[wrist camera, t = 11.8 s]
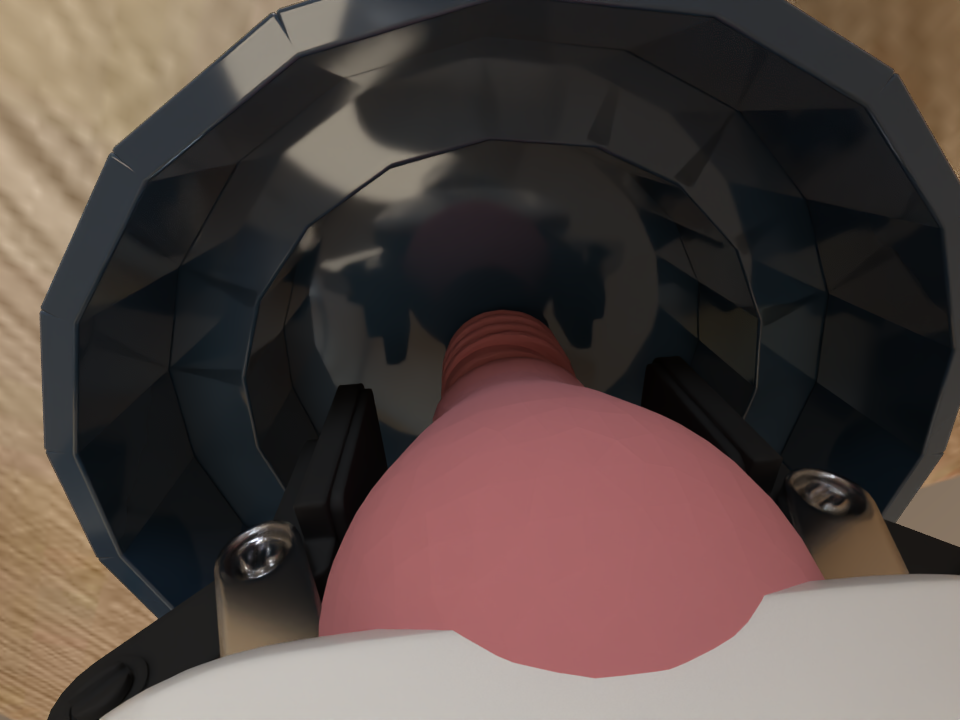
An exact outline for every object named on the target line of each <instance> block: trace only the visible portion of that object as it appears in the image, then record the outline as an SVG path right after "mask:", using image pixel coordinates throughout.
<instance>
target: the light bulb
mask: <svg viewBox="0 0 960 720" xmlns="http://www.w3.org/2000/svg"><path fill="white" fill-rule="evenodd" d="M816 580H825V578H824V577H823V575H822V573H821V571H820V570H819V568H818V566H817V564H816V563H815V561H814V559H813V557H812V556H811V554H810V552H809V550H808V549H807V547H806V545H805V544H804V542H803V540H802V538H801V537H800V536H799V534H798V533H797V532H796V530H795V529H794V528H793V526H792V525H791V524H790V522H789V521H788V519H787V518H786V517H785V515H784V514H783V513H782V511H781V510H780V509H779V507H778V506H777V505H776V504H775V502H774V501H773V500H772V499H771V498H770V497H769V496H768V495H767V494H766V493H765V492H764V491H763V490H762V489H761V488H760V487H759V486H758V485H757V484H756V483H755V482H754V481H753V480H752V479H751V478H750V477H749V476H748V475H747V474H746V473H745V472H744V471H743V470H742V469H741V468H740V467H739V466H738V465H737V464H736V463H735V462H734V461H733V460H731V459H730V458H729V457H728V456H726V455H725V454H724V453H722V452H721V451H720V450H719V449H717V448H716V447H715V446H714V445H712V444H711V443H710V442H708V441H707V440H705V439H704V438H702V437H700V436H699V435H697V434H695V433H694V432H692V431H691V430H689V429H687V428H686V427H684V426H683V425H681V424H679V423H677V422H675V421H673V420H671V419H669V418H667V417H664V416H662V415H660V414H658V413H655V412H653V411H650V410H648V409H646V408H643V407H640V406H638V405H635V404H632V403H630V402H627V401H624V400H621V399H619V398H616V397H613V396H611V395H608V394H605V393H602V392H600V391H597V390H593V389H590V388H585V387H584V386H583V385H582V384H581V382H580V381H579V380H578V379H577V378H576V376H575V373H574V370H573V368H572V366H571V363H570V360H569V359H568V357H567V355H566V354H565V352H564V351H563V349H562V347H561V346H560V344H559V343H558V341H557V340H556V338H555V336H554V335H553V333H552V331H551V330H550V329H549V328H548V327H547V326H546V325H544V324H543V323H542V322H541V321H540V320H538V319H536V318H534V317H533V316H531V315H528V314H526V313H523V312H519V311H511V310H496V311H490V312H485V313H482V314H479V315H477V316H475V317H473V318H471V319H470V320H468V321H467V322H465V323H464V324H463V325H462V326H461V327H460V328H459V329H458V330H457V331H456V333H455V334H454V335H453V337H452V338H451V340H450V343H449V345H448V348H447V350H446V353H445V356H444V360H443V369H442V389H441V400H440V402H439V403H438V405H437V408H436V411H435V414H434V417H433V423H432V424H431V425H430V426H428V427H427V428H426V429H425V430H424V431H423V432H422V433H421V434H420V435H419V436H418V437H417V438H416V439H415V440H414V441H413V442H412V443H411V445H410V446H409V447H408V448H407V449H406V450H405V451H404V452H403V453H402V454H401V456H400V457H399V458H398V459H397V460H396V461H395V462H394V463H393V464H392V466H391V467H390V468H389V469H388V470H387V471H386V472H385V473H384V475H383V476H382V477H381V478H380V480H379V481H378V482H377V483H376V484H375V486H374V487H373V488H372V490H371V491H370V493H369V494H368V496H367V497H366V499H365V500H364V502H363V503H362V505H361V506H360V508H359V509H358V511H357V512H356V514H355V516H354V518H353V520H352V522H351V524H350V526H349V528H348V530H347V532H346V534H345V536H344V538H343V541H342V543H341V545H340V548H339V550H338V552H337V554H336V557H335V559H334V561H333V564H332V567H331V570H330V573H329V576H328V580H327V584H326V588H325V592H324V596H323V601H322V609H321V615H320V620H319V636H318V637H321V636H328V635H336V634H343V633H351V632H358V631H366V630H373V629H413V630H453V631H455V632H456V633H458V634H460V635H461V636H463V637H465V638H466V639H468V640H470V641H472V642H473V643H475V644H477V645H479V646H480V647H482V648H484V649H486V650H487V651H489V652H491V653H493V654H494V655H496V656H499V657H501V658H503V659H506V660H508V661H511V662H513V663H517V664H521V665H526V666H530V667H535V668H539V669H544V670H548V671H553V672H557V673H564V674H570V675H577V676H583V677H589V678H604V677H615V676H625V675H633V674H641V673H649V672H657V671H663V670H669V669H672V668H674V667H677V666H679V665H682V664H684V663H687V662H689V661H691V660H693V659H695V658H697V657H699V656H701V655H703V654H705V653H707V652H709V651H710V650H712V649H714V648H716V647H718V646H719V645H721V644H723V643H724V642H726V641H727V640H729V639H731V638H732V637H734V636H735V635H736V634H737V633H738V632H739V631H740V630H741V629H742V628H743V627H744V626H745V625H746V624H747V623H748V621H749V620H750V618H751V617H752V615H753V614H754V612H755V611H756V609H757V607H758V606H759V604H760V603H761V601H762V599H763V597H764V595H767V594H771V593H774V592H777V591H780V590H783V589H787V588H790V587H792V586H796V585H799V584H802V583H805V582H808V581H816Z"/></svg>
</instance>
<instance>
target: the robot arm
mask: <svg viewBox="0 0 960 720" xmlns="http://www.w3.org/2000/svg"><path fill="white" fill-rule="evenodd" d="M641 407H643V408H646V409H648V410H650V411H653V412H655V413H658V414H660V415H662V416H664V417H667V418H669V419H671V420H673V421H675V422H677V423H679V424H681V425H683V426H684V427H686V428H687V429H689V430H691V431H692V432H694V433H695V434H697V435H699V436H700V437H702V438H704V439H705V440H707V441H708V442H710V443H711V444H712V445H714V446H715V447H716V448H717V449H719V450H720V451H721V452H722V453H724V454H725V455H726V456H728V457H729V458H730V459H731V460H733V461H734V462H735V463H736V464H737V465H738V466H739V467H740V468H741V469H742V470H743V471H744V472H745V473H746V474H747V475H748V476H749V477H750V478H751V479H752V480H753V481H754V482H755V483H756V484H757V485H758V486H759V487H760V488H761V489H762V490H763V491H764V492H765V493H766V494H767V495H768V496H769V497H770V498H771V499H772V500H773V501H774V502H775V504H776V505H777V506H778V507H779V509H780V510H781V511H782V513H783V514H784V515H785V517H786V518H787V519H788V521H789V522H790V524H791V525H792V526H793V528H794V529H795V530H796V532H797V533H798V534H799V536H800V537H801V538H802V540H803V542H804V544H805V545H806V547H807V549H808V550H809V552H810V554H811V556H812V557H813V559H814V561H815V563H816V564H817V566H818V568H819V570H820V571H821V573H822V575H823V577H824V578H825V580H816V581H808V582H805V583H802V584H799V585H796V586H792V587H790V588H787V589H783V590H780V591H777V592H774V593H771V594H767V595H764V597H763V599H762V601H761V603H760V604H759V606H758V607H757V609H756V611H755V612H754V614H753V615H752V617H751V618H750V620H749V621H748V623H747V624H746V625H745V626H744V627H743V628H742V629H741V630H740V631H739V632H738V633H737V634H736V635H735V636H734V637H732V638H731V639H729V640H727V641H726V642H724V643H723V644H721V645H719V646H718V647H716V648H714V649H712V650H710V651H709V652H707V653H705V654H703V655H701V656H699V657H697V658H695V659H693V660H691V661H689V662H687V663H684V664H682V665H679V666H677V667H674V668H672V669H669V670H663V671H657V672H649V673H641V674H633V675H625V676H615V677H604V678H589V677H583V676H577V675H570V674H564V673H557V672H553V671H548V670H544V669H539V668H535V667H530V666H526V665H521V664H517V663H513V662H511V661H508V660H506V659H503V658H501V657H499V656H496V655H494V654H493V653H491V652H489V651H487V650H486V649H484V648H482V647H480V646H479V645H477V644H475V643H473V642H472V641H470V640H468V639H466V638H465V637H463V636H461V635H460V634H458V633H456V632H455V631H453V630H413V629H373V630H366V631H358V632H351V633H343V634H336V635H328V636H321V637H318V636H319V620H320V615H321V609H322V601H323V596H324V592H325V588H326V584H327V580H328V576H329V573H330V570H331V567H332V564H333V561H334V559H335V557H336V554H337V552H338V550H339V548H340V545H341V543H342V541H343V538H344V536H345V534H346V532H347V530H348V528H349V526H350V524H351V522H352V520H353V518H354V516H355V514H356V512H357V511H358V509H359V508H360V506H361V505H362V503H363V502H364V500H365V499H366V497H367V496H368V494H369V493H370V491H371V490H372V488H373V487H374V486H375V484H376V483H377V482H378V481H379V480H380V478H381V477H382V476H383V475H384V473H385V472H386V471H387V470H388V466H387V461H386V456H385V451H384V446H383V441H382V436H381V431H380V426H379V421H378V415H377V410H376V405H375V400H374V395H373V391H372V389H371V388H367V389H365V388H364V385H363V384H362V383H359V384H347V385H339V386H338V389H337V391H336V394H335V396H334V399H333V402H332V404H331V407H330V410H329V412H328V415H327V418H326V420H325V423H324V426H323V428H322V431H321V434H320V436H319V439H313V440H308V441H306V443H305V445H304V446H303V449H302V451H301V454H300V456H299V458H298V461H297V463H296V466H295V468H294V471H293V473H292V475H291V478H290V480H289V483H288V485H287V487H286V490H285V492H284V495H283V497H282V499H281V502H280V504H279V507H278V509H277V512H276V514H275V516H274V519H273V520H272V521H265V522H261V523H258V524H255V525H252V526H250V527H249V528H247V529H245V530H243V531H241V532H240V533H238V534H237V535H236V536H234V537H233V538H232V539H230V540H229V542H228V543H227V544H226V545H225V546H224V547H223V548H222V549H221V551H220V553H219V555H218V557H217V559H216V561H215V567H214V579H215V580H214V581H213V582H211V583H210V584H208V585H207V586H206V587H204V588H203V589H201V590H200V591H198V592H197V593H195V594H194V595H193V596H191V597H190V598H188V599H187V600H185V601H184V602H182V603H181V604H179V605H178V606H177V607H175V608H174V609H172V610H171V611H169V612H168V613H166V614H165V615H164V616H162V617H161V618H159V619H158V620H156V621H155V622H153V623H152V624H150V625H149V626H148V627H146V628H145V629H143V630H142V631H140V632H139V633H137V634H136V635H135V636H133V637H132V638H130V639H129V640H127V641H126V642H124V643H123V644H121V645H120V646H119V647H117V648H116V649H114V650H113V651H111V652H110V653H108V654H107V655H105V656H104V657H103V658H101V659H100V660H98V661H97V662H95V663H94V664H93V665H91V666H90V667H89V668H88V669H86V670H85V671H84V672H83V673H81V674H80V675H79V676H78V677H77V678H76V679H75V680H74V681H73V682H72V683H71V684H70V685H69V686H68V687H67V688H66V690H65V691H64V692H63V693H62V694H61V696H60V697H59V699H58V700H57V702H56V703H55V705H54V706H53V708H52V709H51V711H50V714H49V717H48V719H47V720H960V547H958V546H955V545H952V544H949V543H947V542H944V541H941V540H939V539H936V538H933V537H931V536H928V535H925V534H923V533H920V532H917V531H915V530H912V529H909V528H907V527H904V526H901V525H899V524H896V523H893V522H891V521H888V520H885V519H883V517H882V515H881V513H880V511H879V509H878V507H877V505H876V503H875V501H874V500H873V498H872V497H871V495H870V494H869V493H868V492H867V491H866V490H864V489H863V488H862V487H861V486H860V485H858V484H856V483H855V482H853V481H851V480H850V479H848V478H846V477H844V476H841V475H839V474H837V473H834V472H831V471H827V470H823V469H819V468H808V467H806V468H797V469H794V470H792V471H790V470H789V469H788V468H787V467H786V466H785V465H784V464H783V463H782V460H783V458H782V457H781V456H780V455H779V454H778V453H777V452H776V451H775V450H774V449H773V448H772V447H771V446H770V445H769V444H768V443H767V442H766V441H765V440H764V439H763V438H762V437H761V436H760V435H759V434H758V433H757V432H756V431H755V430H754V429H753V428H752V427H751V426H750V425H749V424H748V423H747V422H746V421H745V420H744V419H743V418H742V417H741V416H740V415H739V414H738V413H737V412H736V411H735V410H734V409H733V408H732V407H731V406H730V405H729V404H728V403H727V402H726V401H725V400H724V399H723V398H722V397H721V396H720V395H719V394H718V393H717V392H716V391H715V390H714V389H713V388H712V387H711V386H709V385H708V384H707V383H706V382H705V381H704V380H703V379H702V378H701V377H700V376H699V375H698V374H697V373H696V372H695V371H694V370H693V369H692V368H691V367H690V366H689V365H688V364H687V363H686V362H685V361H684V360H683V359H682V358H681V357H680V356H670V357H659V358H655V359H654V360H653V362H652V364H648V365H647V367H646V371H645V378H644V385H643V393H642V400H641Z"/></svg>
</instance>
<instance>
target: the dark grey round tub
mask: <svg viewBox="0 0 960 720" xmlns="http://www.w3.org/2000/svg"><path fill="white" fill-rule="evenodd" d="M41 309H42V310H41V311H40V340H41V368H42V396H43V424H44V448H45V449H46V454H47V456H48V459H49V461H50V463H51V465H52V467H53V469H54V471H55V473H56V475H57V477H58V479H59V481H60V483H61V485H62V487H63V489H64V491H65V494H66V496H67V498H68V500H69V502H70V504H71V506H72V508H73V510H74V512H75V514H76V516H77V518H78V520H79V522H80V524H81V526H82V528H83V531H84V533H85V535H86V537H87V539H88V541H89V543H90V545H91V547H92V549H93V551H94V553H95V555H96V557H98V558H99V561H100V562H101V563H102V564H103V565H104V566H105V567H106V568H107V569H108V570H109V571H110V572H111V573H112V574H113V575H114V576H115V577H116V578H117V579H118V580H119V581H120V582H121V583H122V584H123V585H124V586H125V587H126V588H127V589H129V590H130V591H131V592H132V593H133V594H134V595H135V596H136V597H137V598H138V599H139V600H140V601H141V602H142V603H143V604H144V605H145V606H146V607H147V608H148V609H149V610H150V611H151V612H152V613H153V614H154V615H155V616H156V617H157V618H158V619H159V618H161V617H162V616H164V615H165V614H166V613H168V612H169V611H171V610H172V609H174V608H175V607H177V606H178V605H179V604H181V603H182V602H184V601H185V600H187V599H188V598H190V597H191V596H193V595H194V594H195V593H197V592H198V591H200V590H201V589H203V588H204V587H206V586H207V585H208V584H210V583H211V582H213V581H214V580H215V579H214V567H215V561H216V559H217V557H218V555H219V553H220V551H221V549H222V548H223V547H224V546H225V545H226V544H227V543H228V542H229V540H230V539H232V538H233V537H234V536H236V535H237V534H238V533H240V532H241V531H243V530H245V529H247V528H249V527H250V526H252V525H255V524H258V523H261V522H265V521H272V520H273V519H274V516H275V514H276V512H277V509H278V507H279V504H280V502H281V499H282V497H283V495H284V492H285V490H286V487H287V485H288V483H289V480H290V478H291V475H292V473H293V471H294V468H295V466H296V463H297V461H298V458H299V456H300V454H301V451H302V449H303V446H304V445H305V443H306V441H308V440H313V439H319V436H320V434H321V431H322V428H323V426H324V423H325V420H326V418H327V415H328V412H329V410H330V407H331V404H332V402H333V399H334V396H335V394H336V391H337V389H338V386H339V385H347V384H359V383H362V384H363V385H364V388H365V389H367V388H371V389H372V391H373V395H374V400H375V405H376V410H377V415H378V421H379V426H380V431H381V436H382V441H383V446H384V451H385V456H386V461H387V466H388V469H389V468H390V467H391V466H392V464H393V463H394V462H395V461H396V460H397V459H398V458H399V457H400V456H401V454H402V453H403V452H404V451H405V450H406V449H407V448H408V447H409V446H410V445H411V443H412V442H413V441H414V440H415V439H416V438H417V437H418V436H419V435H420V434H421V433H422V432H423V431H424V430H425V429H426V428H427V427H428V426H430V425H431V424H432V423H433V417H434V414H435V411H436V408H437V405H438V403H439V402H440V400H441V389H442V369H443V360H444V356H445V353H446V350H447V348H448V345H449V343H450V340H451V338H452V337H453V335H454V334H455V333H456V331H457V330H458V329H459V328H460V327H461V326H462V325H463V324H464V323H465V322H467V321H468V320H470V319H471V318H473V317H475V316H477V315H479V314H482V313H485V312H490V311H496V310H511V311H519V312H523V313H526V314H528V315H531V316H533V317H534V318H536V319H538V320H540V321H541V322H542V323H543V324H544V325H546V326H547V327H548V328H549V329H550V330H551V331H552V333H553V335H554V336H555V338H556V340H557V341H558V343H559V344H560V346H561V347H562V349H563V351H564V352H565V354H566V355H567V357H568V359H569V360H570V363H571V366H572V368H573V370H574V373H575V376H576V378H577V379H578V380H579V381H580V382H581V384H582V385H583V386H584V387H585V388H590V389H593V390H597V391H600V392H602V393H605V394H608V395H611V396H613V397H616V398H619V399H621V400H624V401H627V402H630V403H632V404H635V405H638V406H640V407H641V400H642V393H643V385H644V378H645V371H646V367H647V365H648V364H652V362H653V360H654V359H655V358H659V357H670V356H680V357H681V358H682V359H683V360H684V361H685V362H686V363H687V364H688V365H689V366H690V367H691V368H692V369H693V370H694V371H695V372H696V373H697V374H698V375H699V376H700V377H701V378H702V379H703V380H704V381H705V382H706V383H707V384H708V385H709V386H711V387H712V388H713V389H714V390H715V391H716V392H717V393H718V394H719V395H720V396H721V397H722V398H723V399H724V400H725V401H726V402H727V403H728V404H729V405H730V406H731V407H732V408H733V409H734V410H735V411H736V412H737V413H738V414H739V415H740V416H741V417H742V418H743V419H744V420H745V421H746V422H747V423H748V424H749V425H750V426H751V427H752V428H753V429H754V430H755V431H756V432H757V433H758V434H759V435H760V436H761V437H762V438H763V439H764V440H765V441H766V442H767V443H768V444H769V445H770V446H771V447H772V448H773V449H774V450H775V451H776V452H777V453H778V454H779V455H780V456H781V457H782V458H783V460H782V463H783V464H784V465H785V466H786V467H787V468H788V469H789V470H790V471H792V470H794V469H797V468H806V467H808V468H819V469H823V470H827V471H831V472H834V473H837V474H839V475H841V476H844V477H846V478H848V479H850V480H851V481H853V482H855V483H856V484H858V485H860V486H861V487H862V488H863V489H864V490H866V491H867V492H868V493H869V494H870V495H871V497H872V498H873V500H874V501H875V503H876V505H877V507H878V509H879V511H880V513H881V515H882V517H883V519H885V520H888V521H891V522H893V523H896V522H897V520H898V519H899V517H900V516H901V514H902V513H903V511H904V510H905V508H906V507H907V506H908V504H909V503H910V501H911V500H912V498H913V497H914V496H915V494H916V493H917V491H918V490H919V489H920V487H921V486H922V484H923V483H924V481H925V480H926V479H927V477H928V476H929V474H930V473H931V471H932V470H933V469H934V467H935V466H936V464H937V463H938V461H939V460H940V459H941V457H942V456H943V454H944V453H943V452H944V451H945V449H946V446H947V443H948V440H949V437H950V434H951V431H952V428H953V425H954V422H955V419H956V416H957V413H958V410H959V407H960V181H959V179H958V178H957V176H956V174H955V172H954V171H953V169H952V167H951V165H950V164H949V162H948V160H947V158H946V157H945V155H944V153H943V151H942V150H941V148H940V146H939V144H938V143H937V141H936V139H935V137H934V135H933V134H932V132H931V130H930V128H929V127H928V125H927V123H926V121H925V120H924V118H923V116H922V114H921V113H920V111H919V109H918V107H917V106H916V104H915V102H914V100H913V99H912V97H911V95H910V93H909V92H908V90H907V88H906V86H905V85H904V83H903V81H902V79H901V78H900V76H899V74H897V73H895V71H894V69H893V68H891V67H889V66H888V65H886V64H885V63H883V62H882V61H880V60H878V59H877V58H875V57H874V56H872V55H871V54H869V53H868V52H866V51H864V50H863V49H861V48H860V47H858V46H857V45H855V44H853V43H852V42H850V41H849V40H847V39H846V38H844V37H842V36H841V35H839V34H838V33H836V32H835V31H833V30H831V29H830V28H828V27H827V26H825V25H824V24H822V23H820V22H819V21H817V20H816V19H814V18H813V17H811V16H809V15H808V14H806V13H805V12H803V11H802V10H800V9H799V8H797V7H795V6H794V5H792V4H791V3H789V2H788V1H786V0H305V1H301V2H298V3H295V4H291V5H288V6H285V7H282V8H279V9H278V10H277V14H276V13H275V12H272V13H270V14H269V15H267V16H266V17H265V18H264V19H263V20H262V21H260V22H259V23H258V24H257V25H256V26H255V27H253V28H252V29H251V30H250V31H249V32H248V33H246V34H245V35H244V36H243V37H242V38H241V39H239V40H238V41H237V42H236V43H235V44H234V45H232V46H231V47H230V48H229V49H228V50H227V51H225V52H224V53H223V54H222V55H221V56H220V57H218V58H217V59H216V60H215V61H214V62H213V63H211V64H210V65H209V66H208V67H207V68H206V69H204V70H203V71H202V72H201V73H200V74H199V75H198V76H196V77H195V78H194V79H193V80H192V81H191V82H189V83H188V84H187V85H186V86H185V87H184V88H182V89H181V90H180V91H179V92H178V93H177V94H175V95H174V96H173V97H172V98H171V99H170V100H168V101H167V102H166V103H165V104H164V105H163V106H161V107H160V108H159V109H158V110H157V111H156V112H154V113H153V114H152V115H151V116H150V117H149V118H147V119H146V120H145V121H144V122H143V123H142V124H140V125H139V126H138V127H137V128H136V129H135V130H133V131H132V132H131V133H130V134H129V135H128V136H126V137H125V138H124V139H123V140H122V141H121V142H119V143H118V144H117V145H116V146H115V147H114V148H113V152H111V153H110V154H109V156H108V158H107V160H106V162H105V165H104V167H103V169H102V171H101V174H100V176H99V178H98V180H97V183H96V185H95V187H94V189H93V191H92V194H91V196H90V198H89V200H88V203H87V205H86V207H85V209H84V212H83V214H82V216H81V218H80V221H79V223H78V225H77V227H76V230H75V232H74V234H73V236H72V238H71V241H70V243H69V245H68V247H67V250H66V252H65V254H64V256H63V259H62V261H61V263H60V265H59V268H58V270H57V272H56V274H55V276H54V279H53V281H52V283H51V285H50V288H49V290H48V292H47V294H46V297H45V299H44V301H43V303H42V306H41Z"/></svg>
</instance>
